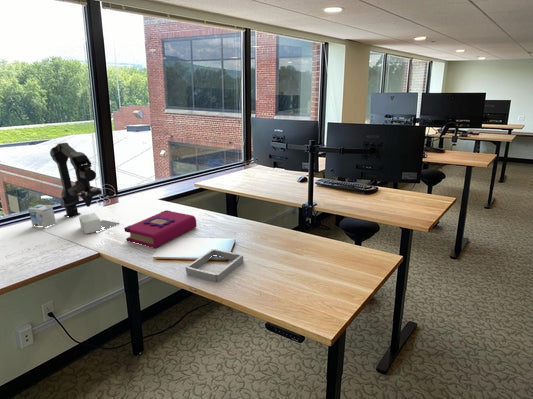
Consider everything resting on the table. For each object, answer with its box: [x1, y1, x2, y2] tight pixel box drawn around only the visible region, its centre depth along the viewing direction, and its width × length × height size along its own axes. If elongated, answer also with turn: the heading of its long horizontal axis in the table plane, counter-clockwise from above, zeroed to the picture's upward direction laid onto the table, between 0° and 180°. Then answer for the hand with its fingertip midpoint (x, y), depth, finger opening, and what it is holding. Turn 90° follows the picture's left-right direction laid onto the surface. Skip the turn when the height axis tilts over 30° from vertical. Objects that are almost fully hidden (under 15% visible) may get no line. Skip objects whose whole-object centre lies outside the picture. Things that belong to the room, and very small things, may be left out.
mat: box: [100, 219, 120, 230], centre depth 205 cm, size 13×14×1 cm
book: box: [123, 209, 197, 249], centre depth 189 cm, size 21×28×8 cm
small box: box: [78, 212, 102, 235], centre depth 201 cm, size 8×6×13 cm
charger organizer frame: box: [185, 248, 244, 283], centre depth 154 cm, size 16×18×3 cm
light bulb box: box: [28, 204, 57, 227], centre depth 209 cm, size 11×7×11 cm, turn 68°
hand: (88, 206), depth 204 cm, fingers closed
